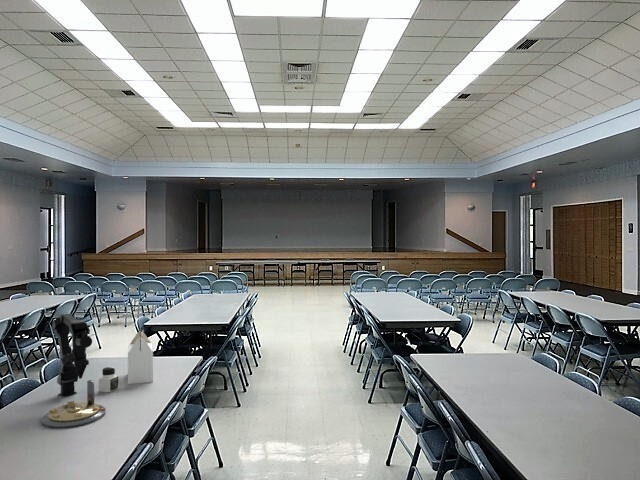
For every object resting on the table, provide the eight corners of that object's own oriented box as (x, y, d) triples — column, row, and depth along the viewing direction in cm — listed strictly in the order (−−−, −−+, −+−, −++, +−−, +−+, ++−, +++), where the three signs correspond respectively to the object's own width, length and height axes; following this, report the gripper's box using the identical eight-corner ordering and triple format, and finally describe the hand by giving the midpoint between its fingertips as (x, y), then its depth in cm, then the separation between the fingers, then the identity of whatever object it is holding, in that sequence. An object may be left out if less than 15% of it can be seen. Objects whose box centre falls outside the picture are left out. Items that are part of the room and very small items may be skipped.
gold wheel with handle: (70, 425, 209) (70, 396, 208) (37, 417, 217) (37, 389, 217) (109, 409, 228) (109, 382, 228) (77, 402, 236) (77, 377, 236)
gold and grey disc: (28, 422, 216) (28, 417, 216) (78, 403, 240) (78, 399, 240) (69, 432, 205) (69, 427, 205) (117, 411, 229) (117, 407, 229)
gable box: (153, 382, 275) (152, 332, 275) (127, 384, 271) (127, 334, 270) (152, 371, 296) (152, 325, 296) (128, 373, 292) (128, 327, 291)
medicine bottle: (110, 392, 257) (110, 369, 257) (98, 391, 258) (98, 369, 258) (118, 388, 264) (118, 366, 264) (107, 387, 265) (106, 365, 265)
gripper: (59, 347, 245) (60, 378, 244) (62, 351, 229) (63, 384, 228) (83, 344, 251) (84, 374, 250) (88, 347, 235) (89, 380, 234)
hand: (80, 378), depth 240 cm, fingers closed
